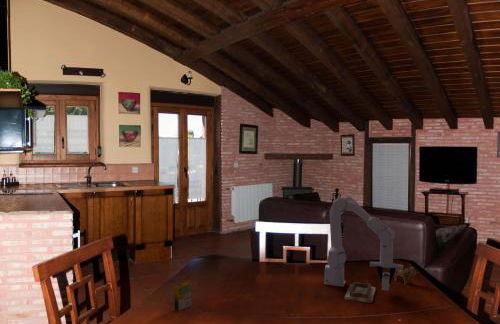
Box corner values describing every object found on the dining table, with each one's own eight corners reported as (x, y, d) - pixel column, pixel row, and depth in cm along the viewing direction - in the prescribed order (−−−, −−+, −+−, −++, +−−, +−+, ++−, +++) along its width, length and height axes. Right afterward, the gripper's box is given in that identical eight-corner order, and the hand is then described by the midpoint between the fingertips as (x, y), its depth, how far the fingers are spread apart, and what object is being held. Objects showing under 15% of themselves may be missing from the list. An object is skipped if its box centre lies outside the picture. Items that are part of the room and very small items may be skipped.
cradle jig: (344, 299, 191) (344, 292, 191) (350, 286, 208) (350, 280, 207) (372, 303, 186) (372, 296, 186) (375, 289, 203) (375, 283, 203)
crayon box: (187, 304, 184) (186, 277, 184) (191, 305, 183) (191, 279, 182) (174, 309, 179) (173, 282, 178) (178, 311, 177) (178, 283, 176)
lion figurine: (418, 284, 211) (418, 267, 210) (411, 287, 207) (412, 268, 207) (392, 277, 222) (393, 260, 222) (386, 279, 219) (386, 261, 219)
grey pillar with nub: (381, 289, 191) (381, 277, 191) (383, 282, 201) (383, 270, 200) (388, 290, 190) (388, 278, 190) (389, 283, 200) (390, 271, 199)
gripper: (369, 254, 194) (368, 284, 194) (403, 258, 189) (402, 288, 189) (370, 251, 200) (370, 279, 201) (403, 254, 195) (402, 283, 196)
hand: (385, 283), depth 196 cm, fingers closed on grey pillar with nub, 3 cm apart
